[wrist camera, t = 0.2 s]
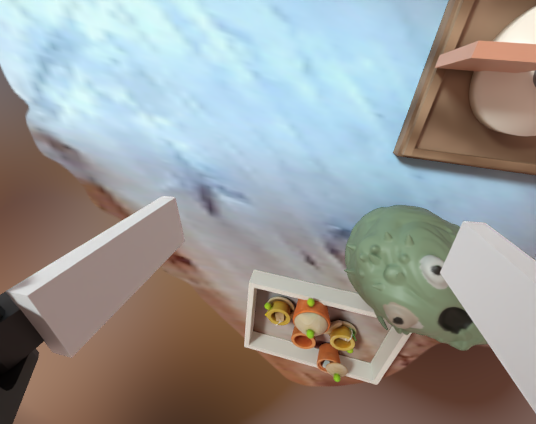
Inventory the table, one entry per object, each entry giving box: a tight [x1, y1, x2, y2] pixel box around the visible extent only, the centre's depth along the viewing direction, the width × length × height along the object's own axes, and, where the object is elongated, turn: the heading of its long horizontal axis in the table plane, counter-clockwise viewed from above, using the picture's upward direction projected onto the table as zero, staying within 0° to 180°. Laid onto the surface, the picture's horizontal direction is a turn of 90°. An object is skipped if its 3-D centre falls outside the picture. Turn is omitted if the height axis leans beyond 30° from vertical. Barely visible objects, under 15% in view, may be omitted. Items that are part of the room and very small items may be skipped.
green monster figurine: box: [344, 205, 488, 350], centre depth 30 cm, size 16×19×20 cm
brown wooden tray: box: [393, 0, 536, 175], centre depth 25 cm, size 22×22×3 cm
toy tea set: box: [265, 297, 357, 382], centre depth 49 cm, size 26×16×10 cm, turn 43°
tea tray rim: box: [244, 270, 412, 385], centre depth 51 cm, size 23×33×4 cm
